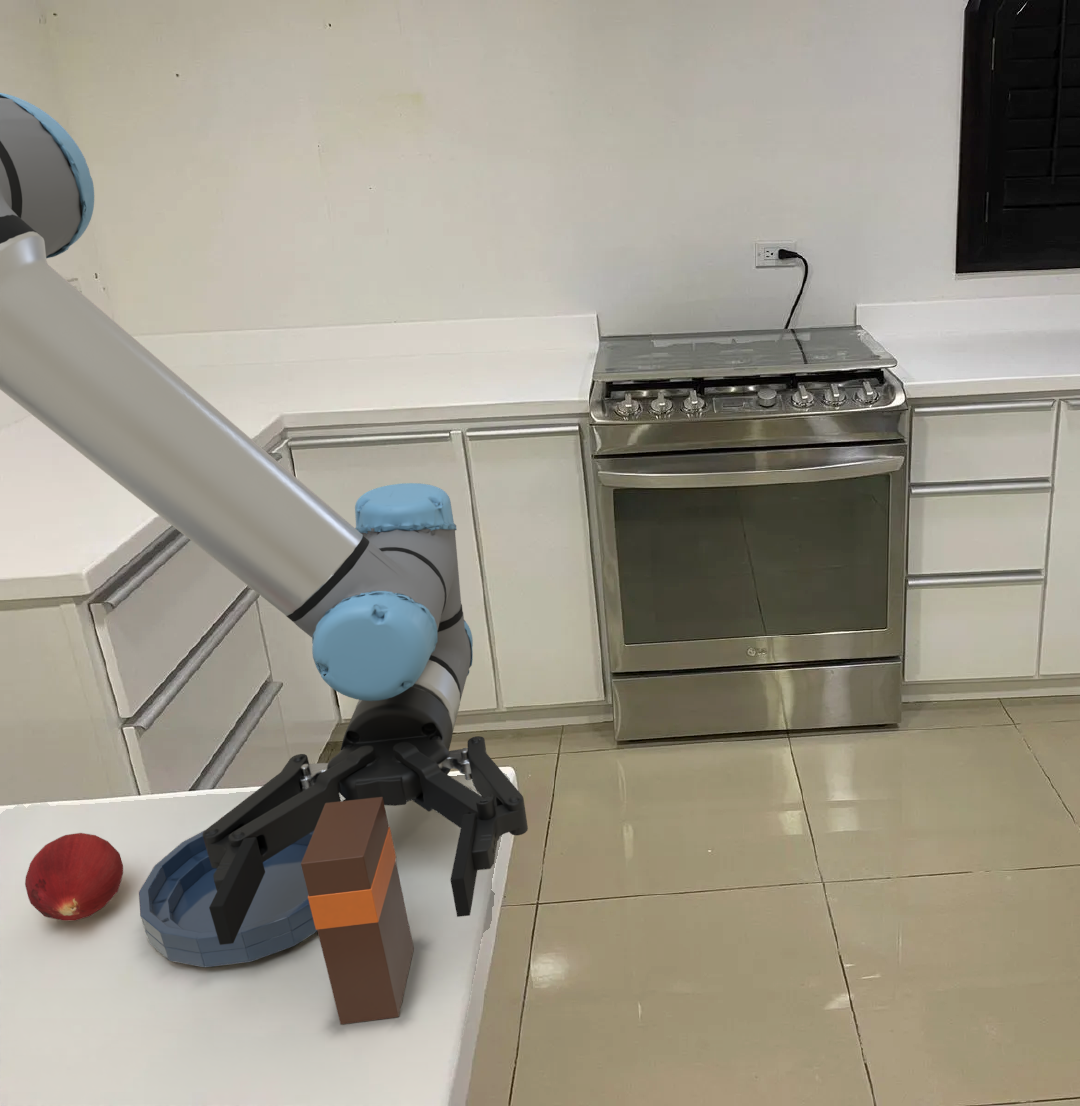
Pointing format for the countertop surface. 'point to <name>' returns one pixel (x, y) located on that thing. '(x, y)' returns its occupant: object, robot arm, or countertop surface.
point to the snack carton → (359, 909)
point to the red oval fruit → (74, 876)
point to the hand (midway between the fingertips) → (341, 912)
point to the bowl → (188, 890)
